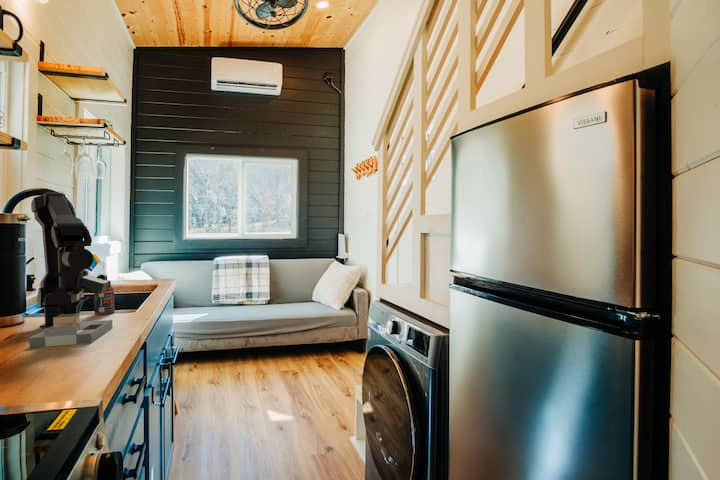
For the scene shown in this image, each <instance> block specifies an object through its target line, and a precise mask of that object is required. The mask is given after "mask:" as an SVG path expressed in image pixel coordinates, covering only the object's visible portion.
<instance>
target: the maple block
mask: <svg viewBox="0 0 720 480" xmlns="http://www.w3.org/2000/svg"><path fill="white" fill-rule="evenodd" d="M80 320H81V318H80V314H79V313H76V314H61V315H58V316H56V317H54V318H53V324H54V328H58V327H74V326H77V331H78V330H80V322H81V321H80Z"/></svg>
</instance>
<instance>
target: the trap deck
mask: <svg viewBox="0 0 720 480" xmlns="http://www.w3.org/2000/svg"><path fill="white" fill-rule="evenodd" d="M112 329H113V319H108V320H107V319H106V320H90V321H89V320H87V321H80V330H78V331H77V326H74V327H58V328H54V326H52V327H45V328H44V330H43V331H41V332H38V333H36V334H34V335H32V336H30V337H29V338H28V342H29V344H28V345H29V348H30V349H31V348H42V347H43V348H46V347H55V346H56V347H57V346H69V345H70V346H71V345H72V346H73V345H85V344H93V343H95V341H97V340H98V339H100V338H101V337H102V336H103V335H105V334H107V333H108V332H110V331H111V330H112Z"/></svg>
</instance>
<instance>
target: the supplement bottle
mask: <svg viewBox="0 0 720 480" xmlns="http://www.w3.org/2000/svg"><path fill="white" fill-rule="evenodd" d="M108 283H109V285H108V286H107V288H106V290H105V292H102V294H96V293H93V295H94V296H93V303H94V305H93V307H94V314H95V315H96V316H105V315H107V316H108V315H111V314H114V313H115V308H116V306H115V288H114V287H113V286H112V285H111V283H112V282H111V280H109V282H108Z"/></svg>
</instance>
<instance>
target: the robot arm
mask: <svg viewBox="0 0 720 480" xmlns="http://www.w3.org/2000/svg"><path fill="white" fill-rule="evenodd" d="M30 202H31V204H30V205H31V206H30V208H31V212H32V213H34V214H33V215H34V219H35V221H36V222H37V223H38V224H39V225H40V226H41V230H42V231H41V232H42V233H41V234H42V245H43V253H44V254H43V255H44V256H43V257H44V267H45V275H43V277H42V280H41V281H40V284H39V285H40V286H39V287H38V291H37V296H36V304H37V307H39V308H40V309H42V308H43V310H44V313H43V314H44V323H43V324H41V325H40V326H39V328H50V327H52V326H54V324H53V318H54V317H56V316H58V315H61V314H76V313H79V315H80V313H81V309H82V306H83V304H84V303H85V302H86V301H87V300H88V299H90V296H89V295H88V296H85V293H88V294H89V293H91V294H94V293H96V294H102V292H105V290H106V288H107V286H108V285H109V283H108V282H109V281H110V280H108V276H107V275H106V274H103V273H101V274H98V275H97V276H91V275H89V271H88V270H87V269H89V268H90V267H91V266H92V265H93V263H94V255H93V253H92V252H91V251H90V250H89V249H87V248H85V247H91V246H92V241H93V240H92V236H91V233H90V230H89V229H88V227H87V226H86V225H85V224H84V222H83V221H82V219H80V218H79V217H77V216H74V215H73V213H72V211H71V209H70V206H69V204H68V198H67V196H66V194H65V193H63V192H51V191H49V192H44V193H43V194H42V195H38V196H35V197H33V199H31V201H30Z"/></svg>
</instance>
